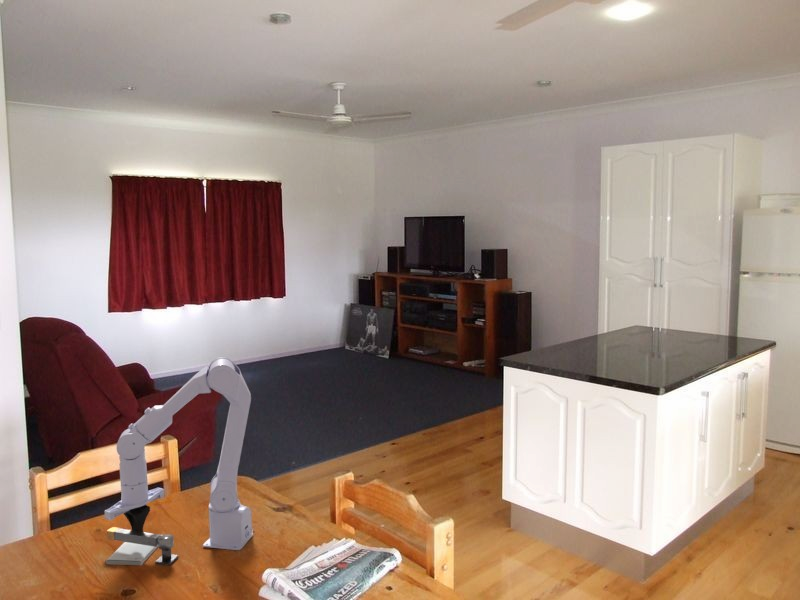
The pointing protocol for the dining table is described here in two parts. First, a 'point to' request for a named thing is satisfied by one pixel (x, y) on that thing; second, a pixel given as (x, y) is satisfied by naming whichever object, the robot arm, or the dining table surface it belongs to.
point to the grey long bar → (141, 538)
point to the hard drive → (131, 554)
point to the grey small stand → (166, 558)
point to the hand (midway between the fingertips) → (137, 537)
